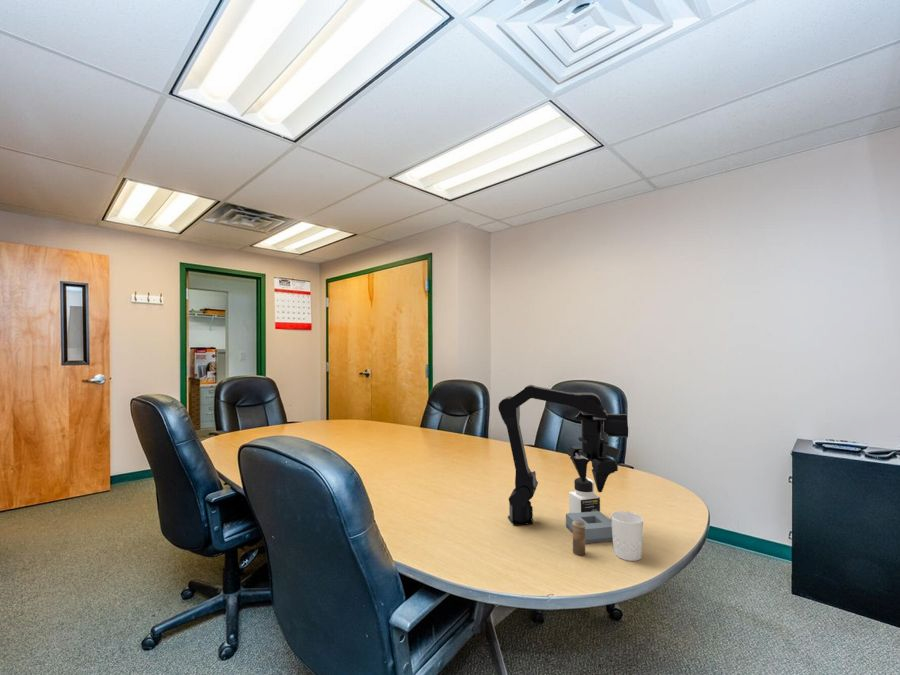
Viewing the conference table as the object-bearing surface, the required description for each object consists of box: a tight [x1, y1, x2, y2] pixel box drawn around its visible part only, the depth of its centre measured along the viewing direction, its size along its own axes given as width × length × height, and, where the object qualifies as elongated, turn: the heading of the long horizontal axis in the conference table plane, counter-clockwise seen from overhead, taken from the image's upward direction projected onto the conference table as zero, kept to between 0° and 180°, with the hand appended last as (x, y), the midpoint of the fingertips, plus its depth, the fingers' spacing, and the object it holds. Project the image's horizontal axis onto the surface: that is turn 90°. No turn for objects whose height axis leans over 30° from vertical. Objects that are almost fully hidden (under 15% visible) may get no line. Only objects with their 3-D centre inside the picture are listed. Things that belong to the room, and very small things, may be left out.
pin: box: [572, 520, 586, 557], centre depth 110 cm, size 3×3×8 cm
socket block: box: [565, 510, 613, 544], centre depth 121 cm, size 11×11×4 cm
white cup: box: [610, 510, 644, 562], centre depth 108 cm, size 8×8×10 cm
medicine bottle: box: [568, 477, 601, 513], centre depth 133 cm, size 7×7×12 cm
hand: (591, 486), depth 123 cm, fingers open, 9 cm apart
